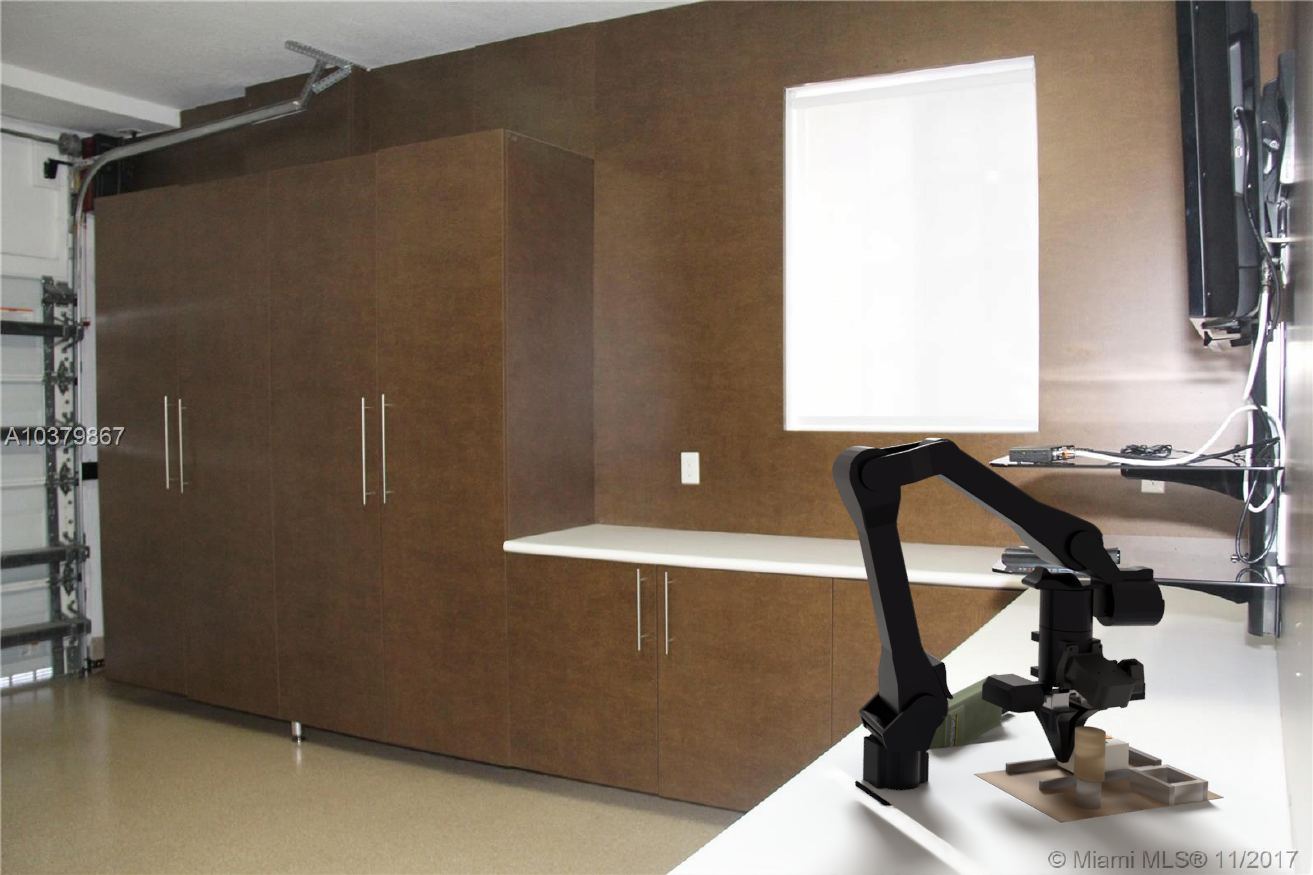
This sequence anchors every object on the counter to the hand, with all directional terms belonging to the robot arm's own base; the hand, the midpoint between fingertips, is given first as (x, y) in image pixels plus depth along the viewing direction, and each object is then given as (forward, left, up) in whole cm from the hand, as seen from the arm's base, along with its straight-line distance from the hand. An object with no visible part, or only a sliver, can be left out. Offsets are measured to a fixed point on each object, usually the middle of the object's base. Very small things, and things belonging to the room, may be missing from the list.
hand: (1062, 762), depth 114 cm
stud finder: (+4, 0, -1) cm, 5 cm away
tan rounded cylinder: (-3, -8, -2) cm, 9 cm away
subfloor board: (+2, -3, -3) cm, 5 cm away
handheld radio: (+3, +20, -4) cm, 20 cm away
